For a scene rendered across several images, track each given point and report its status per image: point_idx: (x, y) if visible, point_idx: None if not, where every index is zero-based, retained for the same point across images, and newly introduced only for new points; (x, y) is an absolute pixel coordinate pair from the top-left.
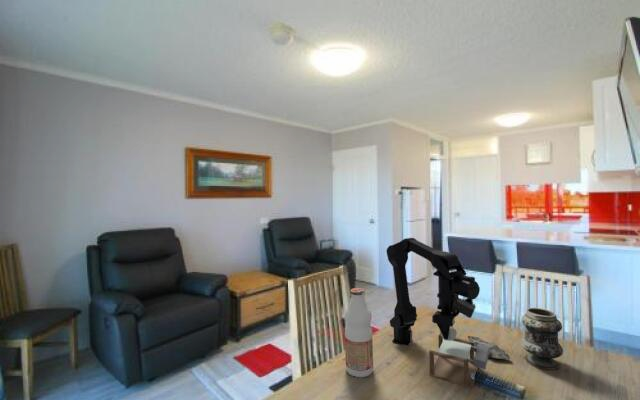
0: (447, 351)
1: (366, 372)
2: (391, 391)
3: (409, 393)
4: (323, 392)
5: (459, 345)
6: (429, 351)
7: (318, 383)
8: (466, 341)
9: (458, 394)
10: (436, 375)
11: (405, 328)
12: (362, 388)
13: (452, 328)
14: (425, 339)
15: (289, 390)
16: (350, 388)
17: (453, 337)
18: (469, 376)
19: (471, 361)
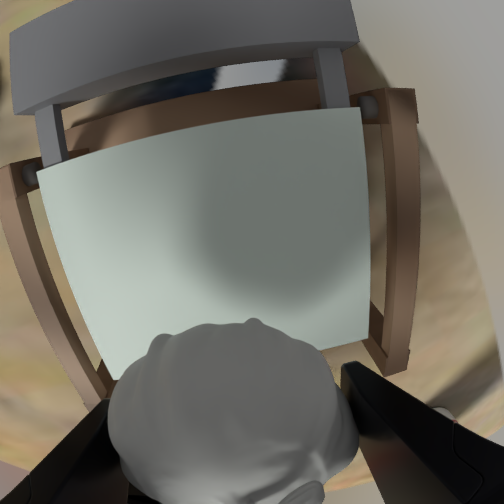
0: (312, 291)
1: (448, 414)
2: (482, 328)
3: (479, 287)
4: (500, 403)
5: (115, 253)
6: (404, 369)
7: (478, 427)
8: (23, 226)
9: (419, 132)
10: None
11: (152, 501)
12: (483, 378)
13: (227, 458)
14: (61, 407)
15: (498, 428)
16: (486, 390)
17: (284, 337)
18: (250, 115)
19: (342, 69)
